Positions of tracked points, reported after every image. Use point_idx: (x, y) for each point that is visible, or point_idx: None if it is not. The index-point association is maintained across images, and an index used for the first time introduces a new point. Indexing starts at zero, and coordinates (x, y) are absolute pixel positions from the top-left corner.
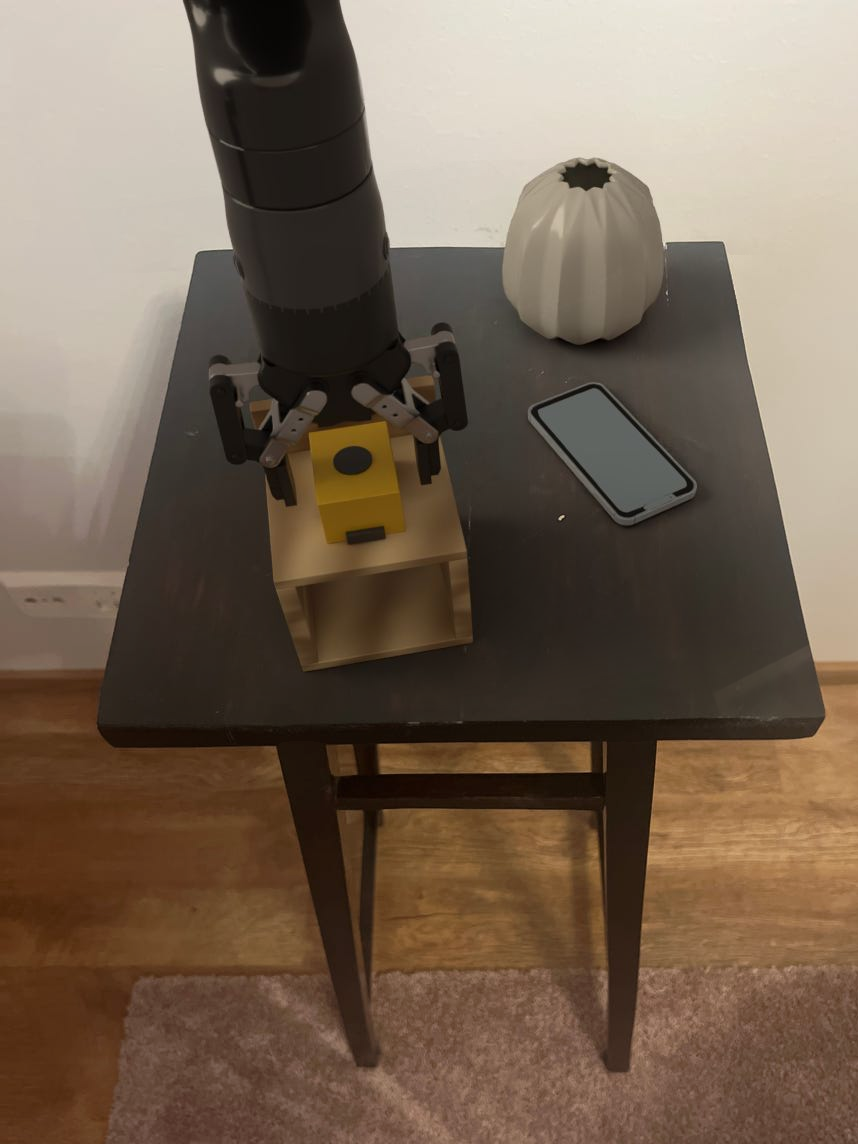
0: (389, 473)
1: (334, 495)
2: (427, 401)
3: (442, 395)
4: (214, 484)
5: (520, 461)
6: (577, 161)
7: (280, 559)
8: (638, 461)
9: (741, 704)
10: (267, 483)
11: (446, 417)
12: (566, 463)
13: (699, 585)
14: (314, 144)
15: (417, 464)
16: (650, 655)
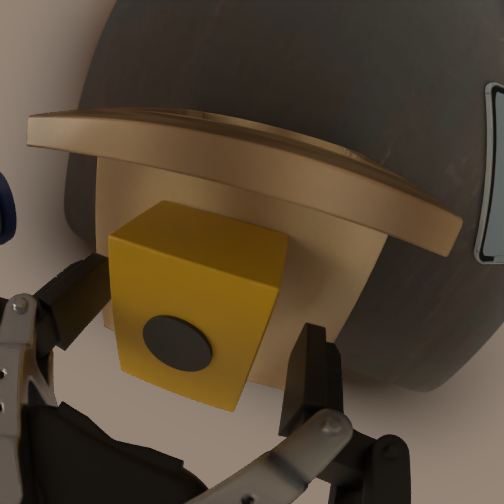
0: (230, 389)
1: (142, 373)
2: (342, 448)
3: (365, 476)
4: (150, 16)
5: (458, 128)
6: None
7: (108, 308)
8: None
9: (411, 386)
10: (97, 187)
11: (333, 486)
12: (486, 166)
13: (465, 321)
14: None
15: (298, 351)
16: (402, 351)
